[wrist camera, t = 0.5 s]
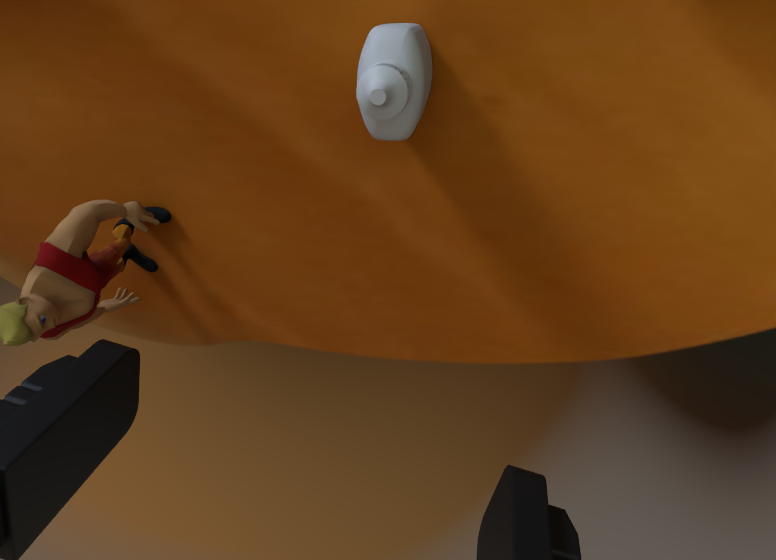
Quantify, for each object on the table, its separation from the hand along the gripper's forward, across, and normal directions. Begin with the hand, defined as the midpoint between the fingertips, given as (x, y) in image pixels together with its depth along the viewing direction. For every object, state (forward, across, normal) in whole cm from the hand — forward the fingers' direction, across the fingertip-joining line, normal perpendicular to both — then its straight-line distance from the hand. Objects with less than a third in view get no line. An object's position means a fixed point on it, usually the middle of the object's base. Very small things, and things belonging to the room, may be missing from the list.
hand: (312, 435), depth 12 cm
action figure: (+27, +19, +12) cm, 35 cm away
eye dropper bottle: (+28, +3, -3) cm, 29 cm away
